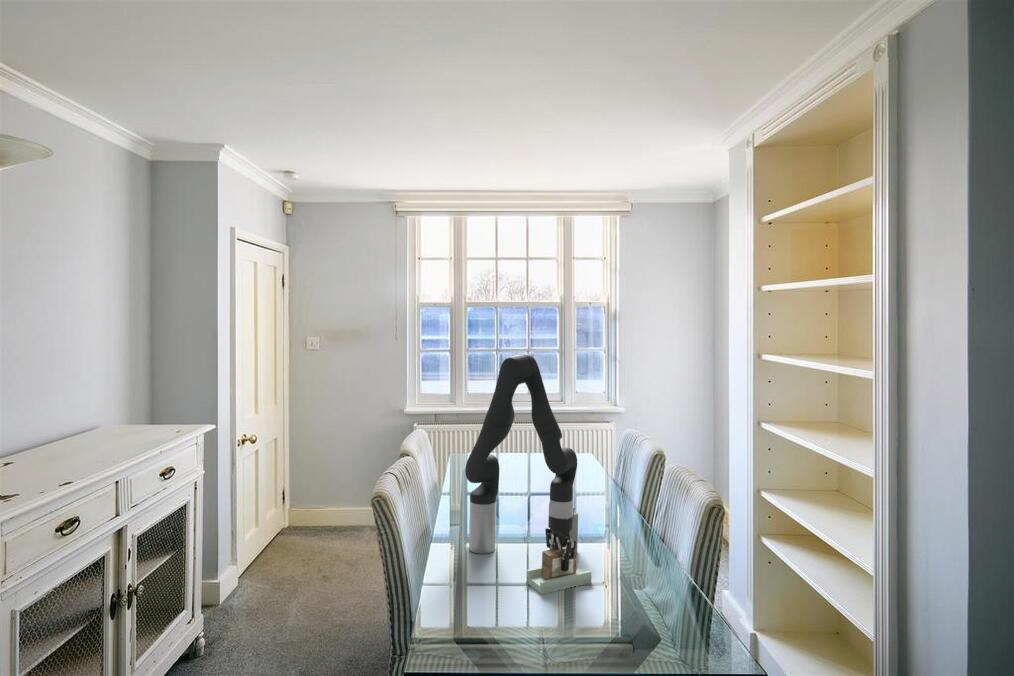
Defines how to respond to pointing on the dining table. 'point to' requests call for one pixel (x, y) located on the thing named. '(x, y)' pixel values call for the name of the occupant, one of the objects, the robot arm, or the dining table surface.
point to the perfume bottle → (574, 528)
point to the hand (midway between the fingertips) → (559, 567)
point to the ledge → (556, 580)
